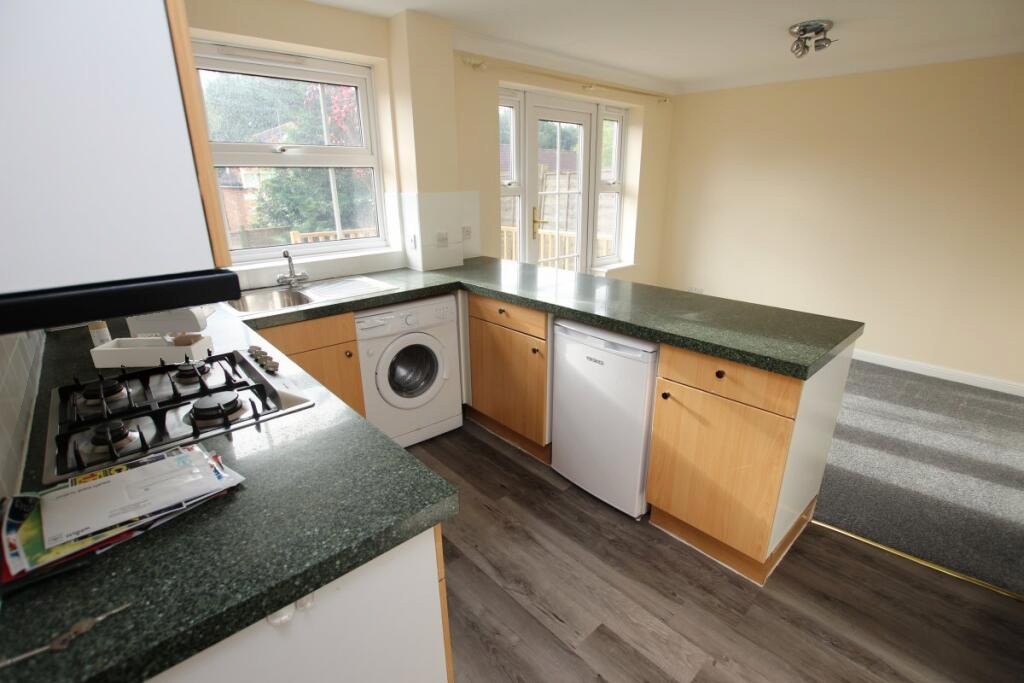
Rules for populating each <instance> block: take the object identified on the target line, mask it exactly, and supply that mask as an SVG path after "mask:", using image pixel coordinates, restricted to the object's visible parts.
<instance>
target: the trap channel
mask: <svg viewBox="0 0 1024 683" xmlns="http://www.w3.org/2000/svg"><path fill="white" fill-rule="evenodd" d="M201 336H202V339H201V340H199V341H198V342H196V343H194V344H192V345H191V346H170V347H167V344H166V342H165V341H164V340H163V339H162V338H161V337H149V338H132V337H122V338H119V337H118V338H115V339H112V341H110V342H107V343H105V344H103V345H100V346H98V347H96V348H95V347H94V348H91V349H90V350H89V351H90V352H89V353H90V354H91V358H92V361H93V363H94V367H95V368H96V369H102V368H103V369H104V368H105V369H106V368H122V367H121V365H122V364H123V365H124V366H125V367H124V368H135V367H136V368H137V367H138V368H139V367H140V368H141V367H160V366H159V365H160V358H163V359H164V361H165V362H166V363H167V364H171V363H182V362H184V361H185V353H186V354H187V356H188V357H189V359H190V360H193V361H194V360H200V359H203V358H205V357H206V356H207V349H208V348H210V349H211V351H212V353H213V354H215V353H214V352H215V348H214V343H213V339H212V335H201ZM170 338H171V339H172V340H174V337H170ZM205 359H206V358H205Z"/></svg>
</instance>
